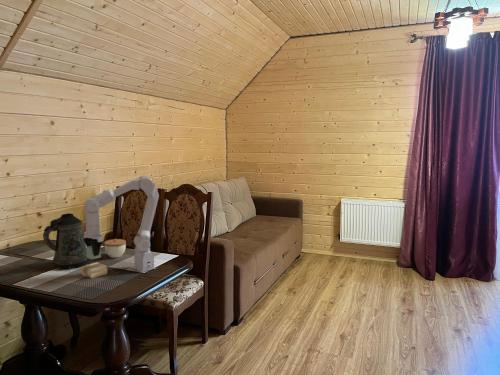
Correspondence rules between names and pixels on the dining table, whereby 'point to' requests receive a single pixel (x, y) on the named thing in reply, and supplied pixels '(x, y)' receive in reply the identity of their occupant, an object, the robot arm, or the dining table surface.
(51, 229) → the beer stein
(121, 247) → the lidded jar
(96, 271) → the birch base block
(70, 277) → the dining table surface
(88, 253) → the teal block
